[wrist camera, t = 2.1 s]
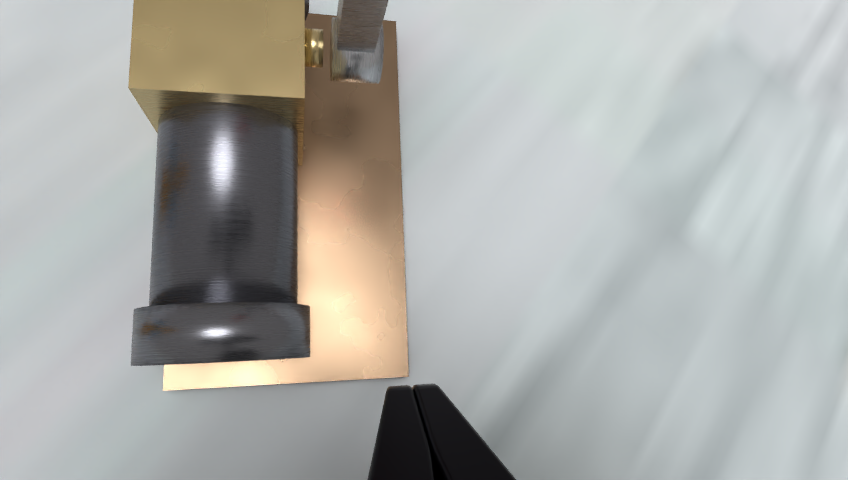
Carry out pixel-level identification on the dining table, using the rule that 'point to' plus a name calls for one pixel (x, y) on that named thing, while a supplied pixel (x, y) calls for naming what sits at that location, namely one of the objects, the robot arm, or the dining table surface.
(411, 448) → the robot arm
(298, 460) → the dining table surface
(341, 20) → the lever
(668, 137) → the dining table surface
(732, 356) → the dining table surface
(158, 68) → the valve
